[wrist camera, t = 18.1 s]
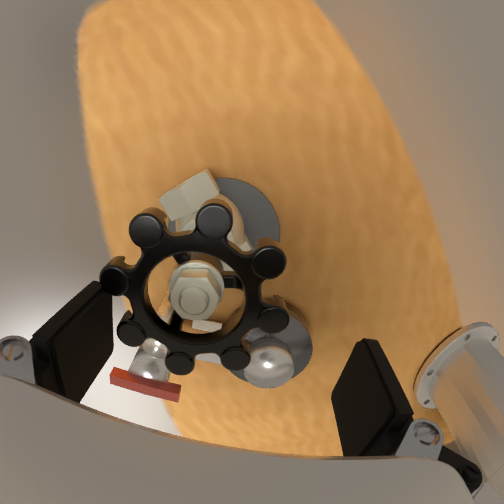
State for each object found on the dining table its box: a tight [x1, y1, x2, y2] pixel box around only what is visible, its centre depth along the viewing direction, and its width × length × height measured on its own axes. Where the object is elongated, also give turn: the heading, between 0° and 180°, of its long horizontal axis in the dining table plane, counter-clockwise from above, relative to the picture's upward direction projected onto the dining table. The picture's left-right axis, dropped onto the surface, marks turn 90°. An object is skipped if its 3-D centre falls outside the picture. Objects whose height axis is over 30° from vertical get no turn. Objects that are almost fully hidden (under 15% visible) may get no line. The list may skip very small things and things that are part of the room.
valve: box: [99, 168, 290, 375], centre depth 15 cm, size 7×7×12 cm
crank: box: [110, 338, 294, 402], centre depth 19 cm, size 12×4×6 cm, turn 76°
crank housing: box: [143, 289, 312, 382], centre depth 21 cm, size 12×7×7 cm, turn 78°
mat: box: [168, 178, 280, 248], centre depth 21 cm, size 8×8×1 cm
